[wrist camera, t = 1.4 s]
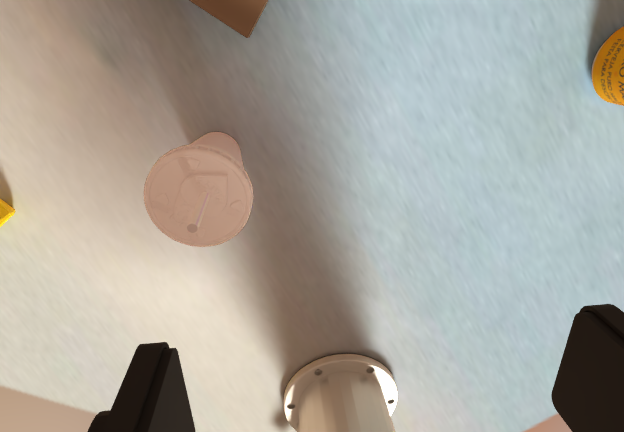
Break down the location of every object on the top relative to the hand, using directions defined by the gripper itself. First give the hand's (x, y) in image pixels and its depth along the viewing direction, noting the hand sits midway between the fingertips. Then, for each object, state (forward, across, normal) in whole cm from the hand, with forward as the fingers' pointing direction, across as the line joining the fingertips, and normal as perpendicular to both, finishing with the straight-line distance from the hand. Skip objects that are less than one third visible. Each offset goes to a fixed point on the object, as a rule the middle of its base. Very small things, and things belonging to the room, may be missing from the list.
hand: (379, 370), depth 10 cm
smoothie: (+26, +7, +2) cm, 27 cm away
